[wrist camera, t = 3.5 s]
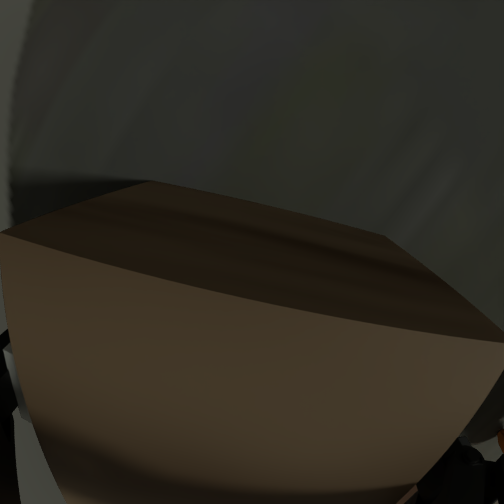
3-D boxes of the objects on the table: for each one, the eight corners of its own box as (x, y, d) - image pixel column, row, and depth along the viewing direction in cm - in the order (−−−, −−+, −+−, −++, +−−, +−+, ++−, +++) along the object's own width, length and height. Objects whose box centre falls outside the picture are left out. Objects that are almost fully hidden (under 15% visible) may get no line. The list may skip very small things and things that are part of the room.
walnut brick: (152, 180, 11) (-1, 231, 4) (383, 234, 12) (517, 344, 4) (133, 385, 14) (72, 514, 7) (307, 421, 15) (325, 559, 7)
